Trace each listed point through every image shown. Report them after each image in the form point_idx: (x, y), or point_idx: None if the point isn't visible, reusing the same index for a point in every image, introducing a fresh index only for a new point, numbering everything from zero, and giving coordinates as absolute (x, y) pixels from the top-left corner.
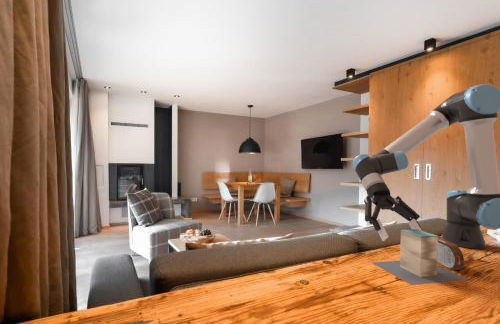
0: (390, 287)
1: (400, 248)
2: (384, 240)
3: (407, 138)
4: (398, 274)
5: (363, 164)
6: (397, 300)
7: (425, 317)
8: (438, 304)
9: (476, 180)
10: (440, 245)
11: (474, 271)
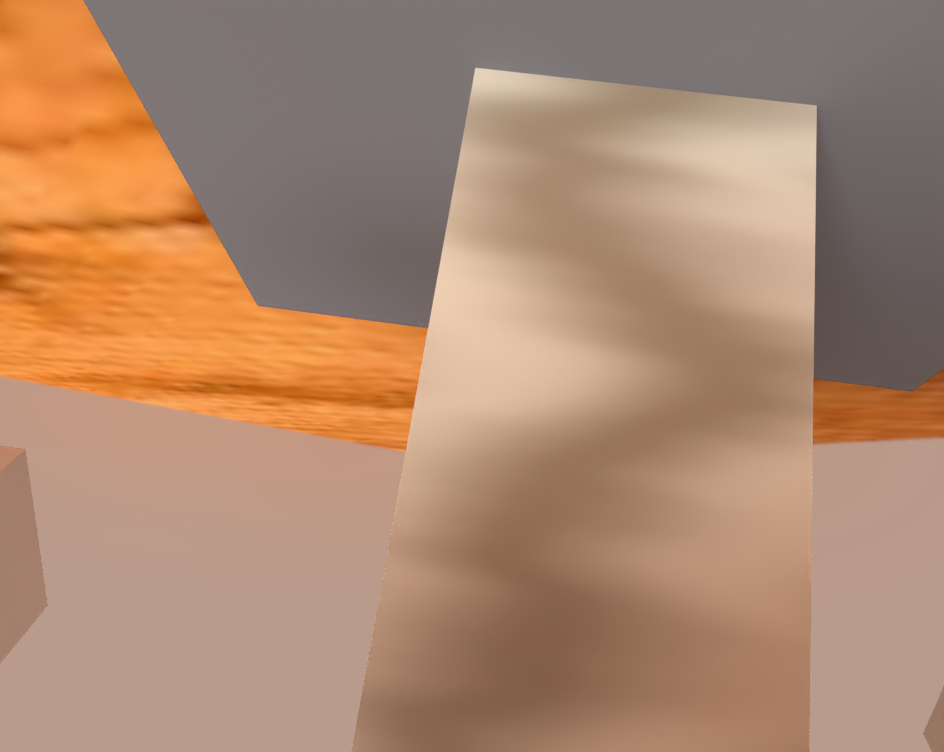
0: (66, 264)
1: (421, 375)
2: (13, 469)
3: None
4: (261, 197)
5: None
6: (58, 332)
7: (145, 399)
8: (290, 391)
9: None
10: None
11: None
